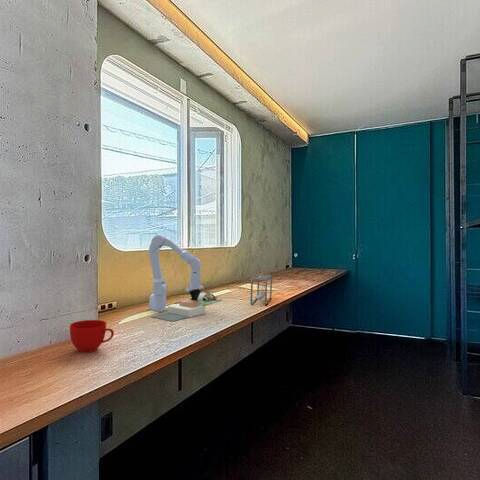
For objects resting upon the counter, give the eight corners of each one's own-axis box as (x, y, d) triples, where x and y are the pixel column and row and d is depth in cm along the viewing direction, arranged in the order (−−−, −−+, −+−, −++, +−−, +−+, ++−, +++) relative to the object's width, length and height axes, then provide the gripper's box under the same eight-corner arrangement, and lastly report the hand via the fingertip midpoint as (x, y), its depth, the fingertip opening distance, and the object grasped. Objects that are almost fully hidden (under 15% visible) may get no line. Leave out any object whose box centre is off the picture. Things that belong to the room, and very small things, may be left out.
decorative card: (201, 286, 265) (225, 289, 256) (201, 297, 265) (225, 300, 256) (174, 292, 236) (200, 296, 227) (173, 304, 236) (200, 308, 227)
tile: (179, 305, 211) (179, 301, 211) (187, 303, 217) (187, 299, 217) (191, 307, 207) (191, 303, 207) (199, 305, 212) (199, 301, 212)
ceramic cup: (103, 357, 133) (104, 330, 133) (61, 353, 136) (62, 326, 136) (121, 347, 146) (121, 322, 146) (82, 343, 149) (83, 318, 149)
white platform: (167, 313, 208) (167, 306, 208) (183, 309, 220) (183, 302, 220) (188, 317, 200) (189, 310, 200) (204, 313, 212) (205, 306, 211)
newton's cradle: (266, 306, 237) (267, 279, 236) (250, 305, 239) (251, 278, 238) (271, 298, 266) (272, 274, 266) (257, 297, 268) (257, 273, 268)
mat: (150, 317, 198) (150, 316, 198) (166, 313, 208) (166, 312, 208) (173, 321, 189) (173, 320, 189) (188, 317, 199) (188, 316, 199)
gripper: (192, 281, 207) (191, 305, 208) (208, 278, 220) (207, 301, 220) (183, 280, 211) (182, 303, 211) (198, 277, 223) (198, 300, 224)
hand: (194, 302), depth 216 cm, fingers closed
